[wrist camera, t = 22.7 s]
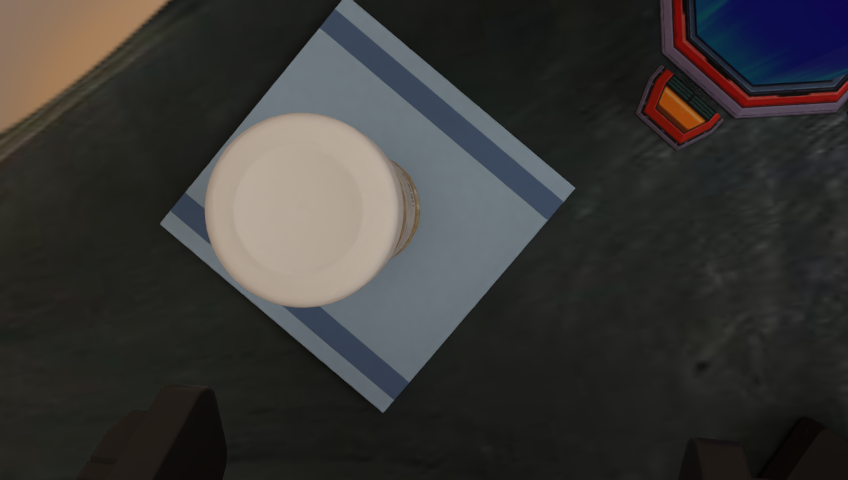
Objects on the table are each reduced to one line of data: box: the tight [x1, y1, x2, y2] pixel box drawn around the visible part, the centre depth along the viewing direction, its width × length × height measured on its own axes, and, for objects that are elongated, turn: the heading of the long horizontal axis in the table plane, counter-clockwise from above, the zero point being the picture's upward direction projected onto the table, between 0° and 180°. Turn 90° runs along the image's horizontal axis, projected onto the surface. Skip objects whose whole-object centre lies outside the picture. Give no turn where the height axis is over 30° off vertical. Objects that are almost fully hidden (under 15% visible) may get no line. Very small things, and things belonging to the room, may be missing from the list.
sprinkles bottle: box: [205, 113, 420, 308], centre depth 24 cm, size 5×5×14 cm
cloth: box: [160, 0, 575, 412], centre depth 31 cm, size 12×12×1 cm
